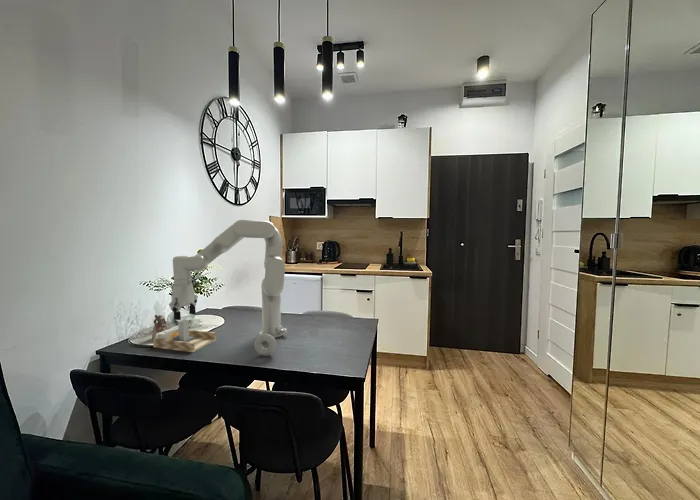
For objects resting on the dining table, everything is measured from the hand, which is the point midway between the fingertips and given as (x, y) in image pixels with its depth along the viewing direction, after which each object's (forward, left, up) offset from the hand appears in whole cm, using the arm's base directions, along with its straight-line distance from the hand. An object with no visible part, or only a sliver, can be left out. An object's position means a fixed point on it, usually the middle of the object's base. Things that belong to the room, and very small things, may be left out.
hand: (185, 316), depth 156 cm
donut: (-44, +2, -13) cm, 46 cm away
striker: (+1, 0, -12) cm, 12 cm away
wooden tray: (0, 0, -13) cm, 13 cm away
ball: (+5, 0, -10) cm, 12 cm away
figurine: (+18, -3, -13) cm, 22 cm away
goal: (+7, 0, -12) cm, 14 cm away
